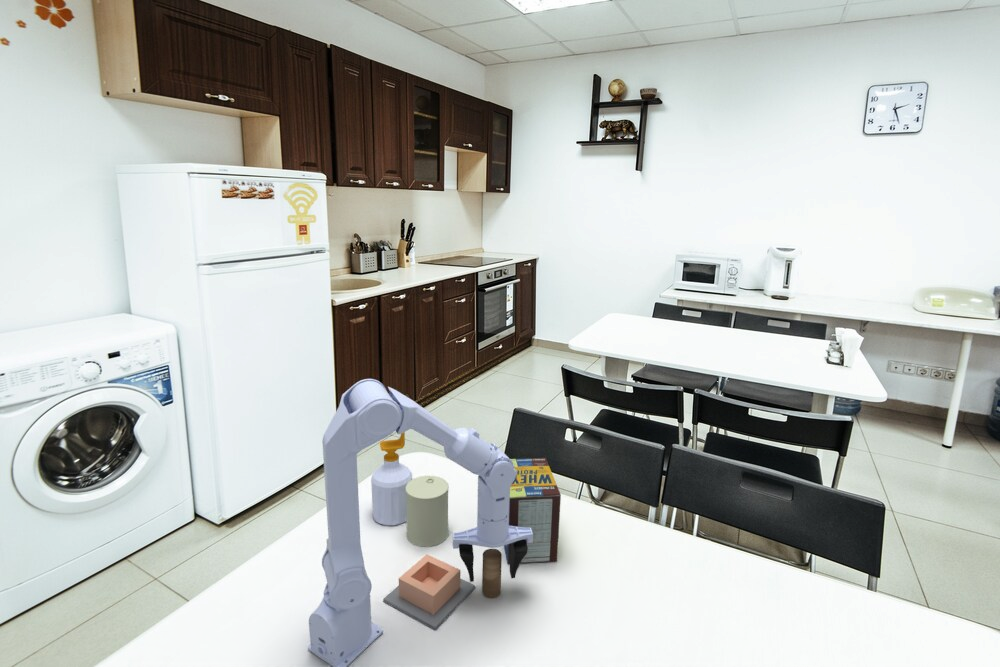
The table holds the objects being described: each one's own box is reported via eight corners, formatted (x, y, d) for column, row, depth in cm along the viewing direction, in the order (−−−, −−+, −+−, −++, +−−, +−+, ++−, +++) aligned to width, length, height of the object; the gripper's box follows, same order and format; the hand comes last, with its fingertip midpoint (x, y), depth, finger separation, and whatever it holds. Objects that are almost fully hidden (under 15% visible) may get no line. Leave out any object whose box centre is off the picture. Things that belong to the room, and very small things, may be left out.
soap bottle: (371, 506, 126) (367, 409, 120) (410, 501, 129) (408, 406, 122) (374, 529, 118) (370, 426, 111) (415, 522, 120) (413, 422, 114)
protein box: (543, 517, 124) (546, 456, 119) (557, 562, 109) (561, 494, 105) (497, 519, 122) (499, 458, 118) (506, 565, 108) (508, 497, 103)
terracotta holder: (435, 630, 91) (435, 608, 90) (383, 601, 97) (382, 580, 96) (475, 588, 101) (475, 567, 100) (425, 564, 107) (425, 544, 106)
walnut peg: (494, 600, 98) (495, 563, 96) (478, 593, 100) (478, 556, 98) (504, 589, 101) (505, 553, 99) (488, 582, 103) (489, 546, 101)
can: (452, 522, 121) (452, 474, 118) (444, 548, 112) (444, 498, 109) (412, 519, 122) (411, 471, 119) (401, 545, 113) (399, 494, 110)
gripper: (528, 497, 101) (526, 558, 105) (451, 502, 99) (451, 564, 102) (536, 519, 94) (533, 584, 98) (453, 525, 92) (453, 591, 96)
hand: (491, 576), depth 100 cm, fingers open, 7 cm apart
